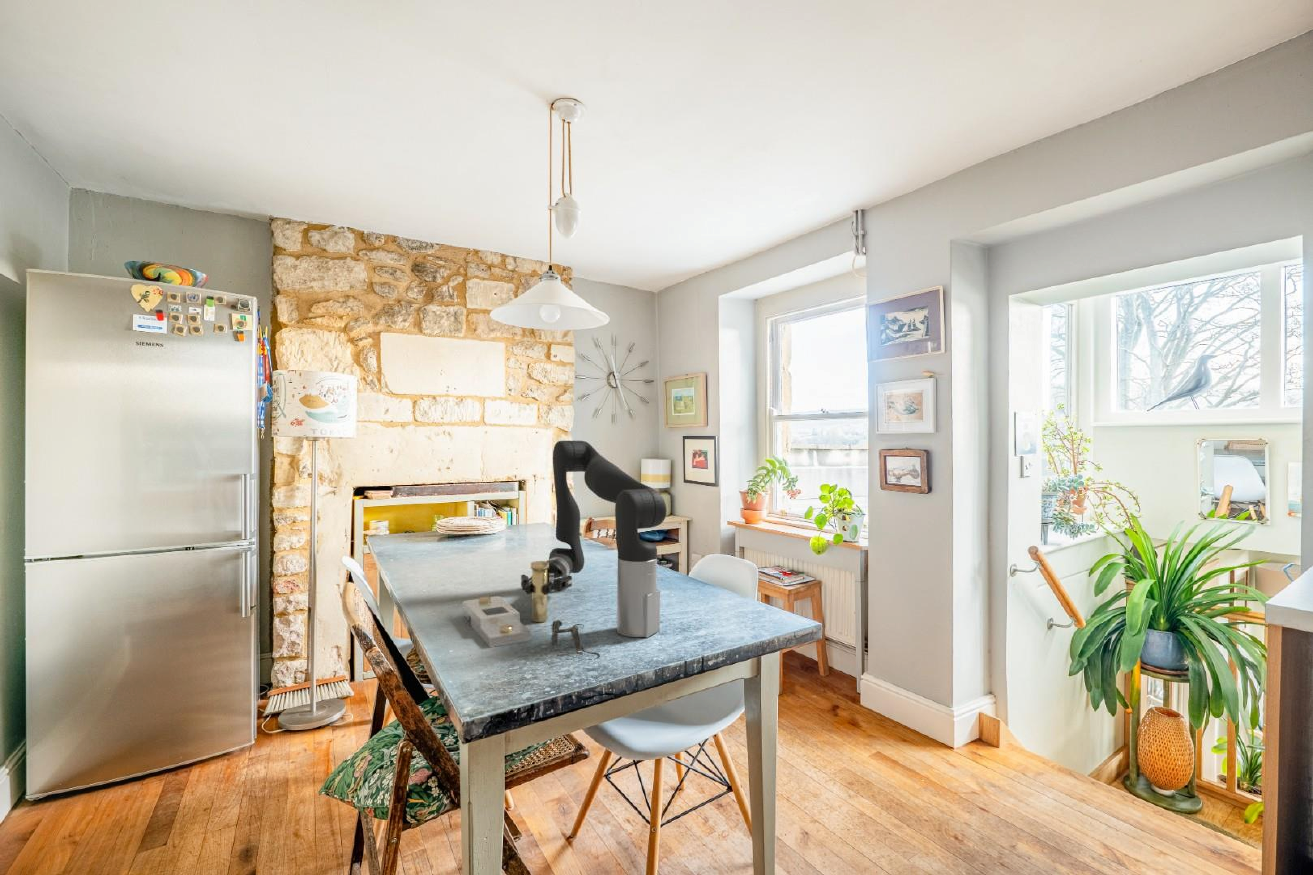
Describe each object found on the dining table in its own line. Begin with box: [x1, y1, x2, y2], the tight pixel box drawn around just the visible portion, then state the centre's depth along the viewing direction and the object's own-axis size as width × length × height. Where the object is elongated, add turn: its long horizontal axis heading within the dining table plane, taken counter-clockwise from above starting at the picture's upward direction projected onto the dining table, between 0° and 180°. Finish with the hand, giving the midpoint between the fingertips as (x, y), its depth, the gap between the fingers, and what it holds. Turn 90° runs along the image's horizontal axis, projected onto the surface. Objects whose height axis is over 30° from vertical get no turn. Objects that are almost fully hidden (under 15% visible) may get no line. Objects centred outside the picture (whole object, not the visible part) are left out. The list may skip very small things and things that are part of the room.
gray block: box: [462, 595, 531, 648], centre depth 137 cm, size 24×9×5 cm, turn 32°
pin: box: [530, 560, 549, 623], centre depth 143 cm, size 4×4×14 cm
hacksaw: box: [551, 619, 601, 661], centre depth 130 cm, size 24×10×2 cm, turn 8°
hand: (536, 590), depth 140 cm, fingers closed on pin, 3 cm apart
